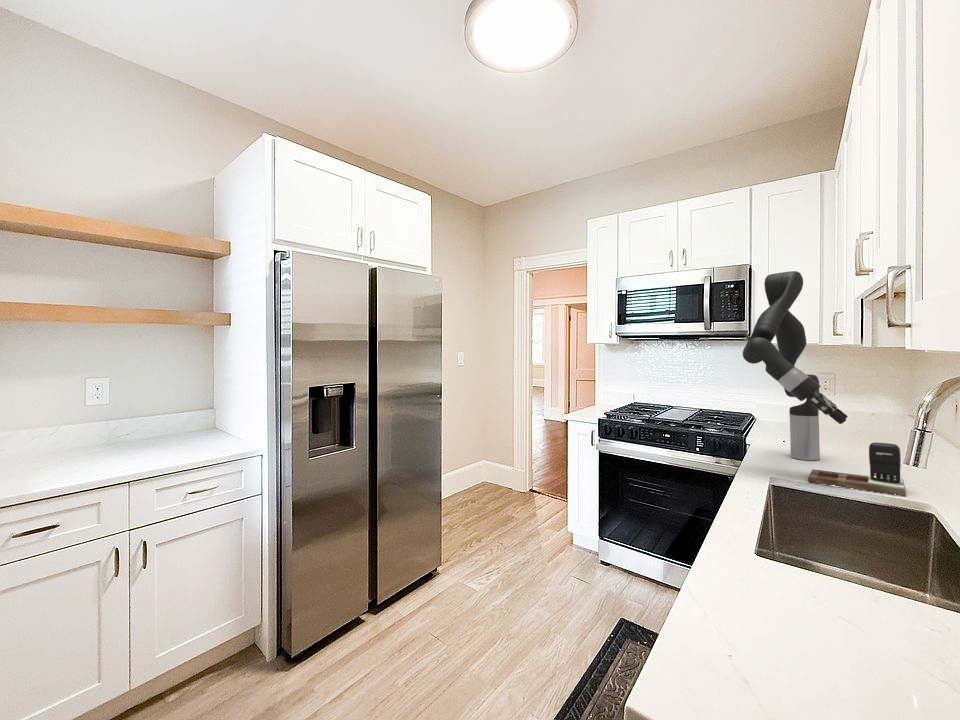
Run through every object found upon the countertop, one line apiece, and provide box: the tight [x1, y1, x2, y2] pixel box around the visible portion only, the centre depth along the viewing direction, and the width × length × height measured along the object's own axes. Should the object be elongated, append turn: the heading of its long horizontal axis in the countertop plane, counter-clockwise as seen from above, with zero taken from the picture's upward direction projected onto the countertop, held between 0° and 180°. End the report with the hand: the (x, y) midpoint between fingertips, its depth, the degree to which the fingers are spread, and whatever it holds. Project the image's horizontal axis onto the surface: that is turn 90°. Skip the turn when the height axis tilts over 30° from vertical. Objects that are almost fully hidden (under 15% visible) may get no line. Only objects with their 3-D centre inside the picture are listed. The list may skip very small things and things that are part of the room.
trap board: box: [807, 468, 906, 497], centre depth 133 cm, size 12×22×2 cm, turn 47°
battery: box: [868, 441, 902, 483], centre depth 128 cm, size 7×4×11 cm, turn 46°
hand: (844, 420), depth 135 cm, fingers open, 8 cm apart
